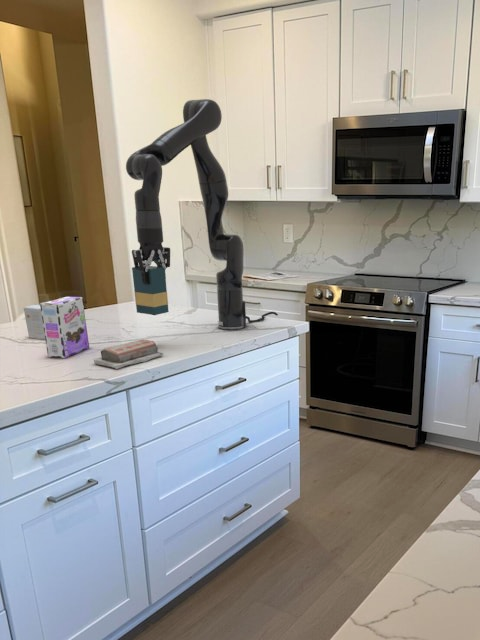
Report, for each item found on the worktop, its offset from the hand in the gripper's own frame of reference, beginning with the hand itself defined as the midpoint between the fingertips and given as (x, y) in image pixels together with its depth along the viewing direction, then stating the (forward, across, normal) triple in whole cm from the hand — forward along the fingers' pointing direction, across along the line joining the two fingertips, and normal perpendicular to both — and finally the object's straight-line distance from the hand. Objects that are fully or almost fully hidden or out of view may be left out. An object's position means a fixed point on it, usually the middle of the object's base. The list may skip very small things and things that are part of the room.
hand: (154, 282), depth 190 cm
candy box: (+21, -21, +18) cm, 34 cm away
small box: (+21, -12, +44) cm, 50 cm away
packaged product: (+21, -17, -4) cm, 27 cm away
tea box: (+2, 0, +2) cm, 3 cm away
